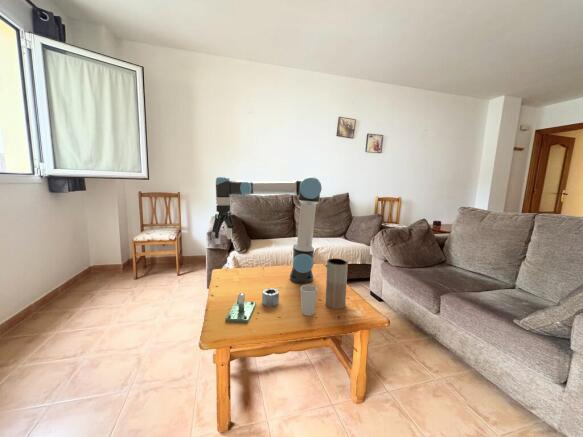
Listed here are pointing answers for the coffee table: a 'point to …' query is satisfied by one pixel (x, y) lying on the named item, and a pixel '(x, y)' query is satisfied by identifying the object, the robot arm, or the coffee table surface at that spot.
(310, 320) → the coffee table surface
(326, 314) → the coffee table surface
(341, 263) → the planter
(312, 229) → the robot arm
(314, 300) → the cup
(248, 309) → the shaft stand
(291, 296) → the coffee table surface
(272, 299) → the ring
